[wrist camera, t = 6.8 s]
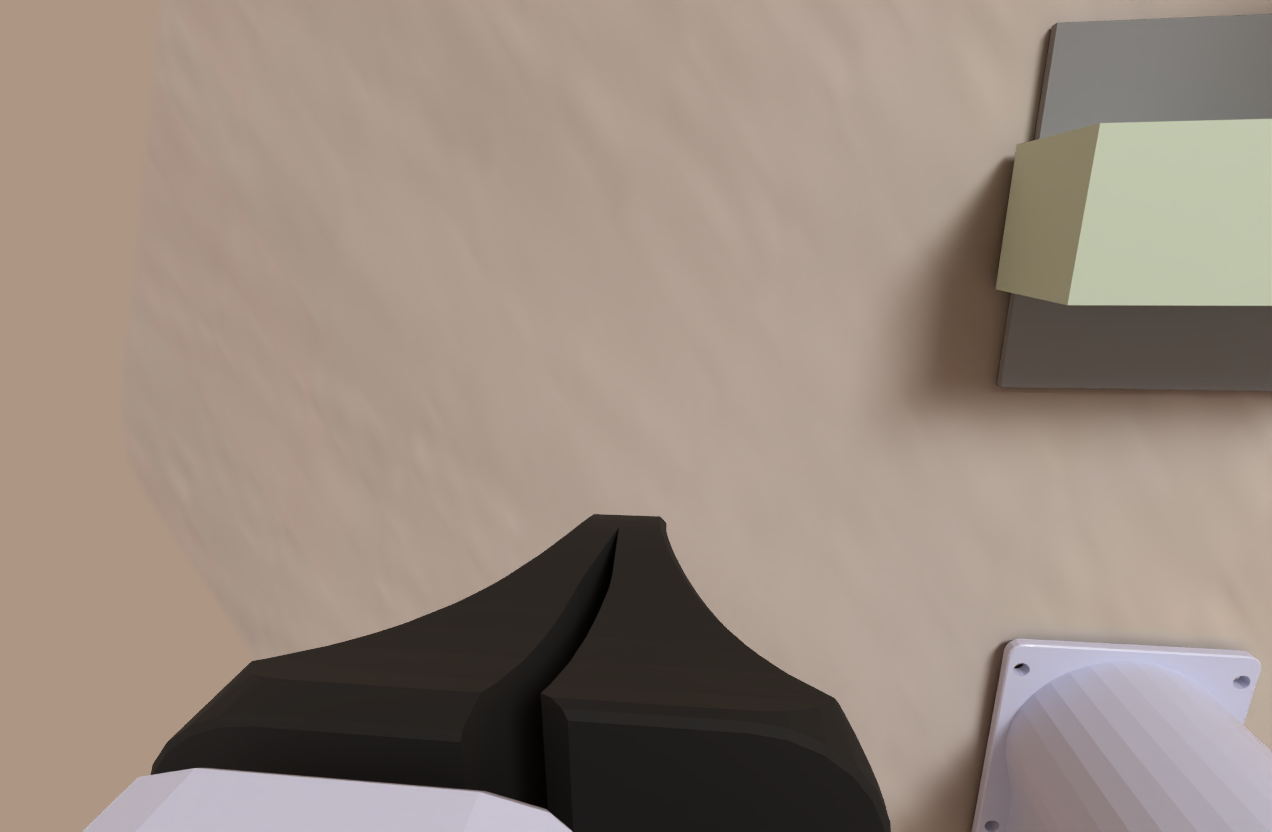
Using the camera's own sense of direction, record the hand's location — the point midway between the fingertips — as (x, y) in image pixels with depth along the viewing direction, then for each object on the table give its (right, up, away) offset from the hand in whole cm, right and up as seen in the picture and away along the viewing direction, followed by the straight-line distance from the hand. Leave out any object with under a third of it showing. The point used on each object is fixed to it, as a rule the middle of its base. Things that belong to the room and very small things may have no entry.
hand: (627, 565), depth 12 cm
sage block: (+11, +8, +5) cm, 14 cm away
